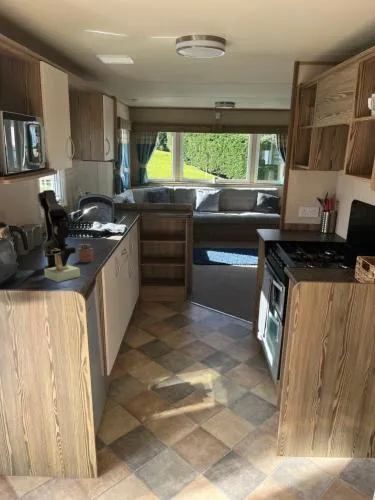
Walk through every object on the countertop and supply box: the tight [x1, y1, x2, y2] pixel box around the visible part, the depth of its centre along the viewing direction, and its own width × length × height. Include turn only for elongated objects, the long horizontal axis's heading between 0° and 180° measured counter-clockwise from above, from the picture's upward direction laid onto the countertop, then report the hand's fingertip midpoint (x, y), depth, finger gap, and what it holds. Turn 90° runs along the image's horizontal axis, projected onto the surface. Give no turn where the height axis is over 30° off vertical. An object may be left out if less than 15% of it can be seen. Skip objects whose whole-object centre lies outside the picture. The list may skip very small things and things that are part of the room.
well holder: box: [44, 264, 81, 283], centre depth 187 cm, size 12×12×4 cm
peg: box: [55, 253, 68, 271], centre depth 186 cm, size 4×4×10 cm
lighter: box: [77, 243, 94, 263], centre depth 216 cm, size 8×3×10 cm, turn 92°
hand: (61, 265), depth 186 cm, fingers closed on peg, 4 cm apart
